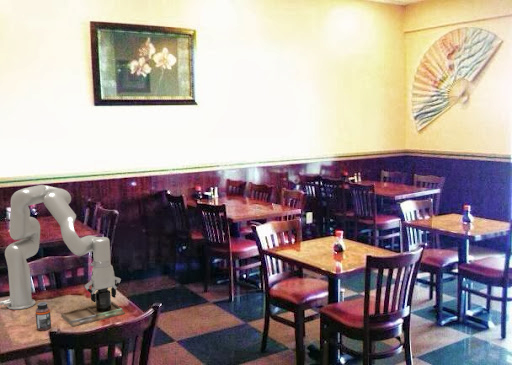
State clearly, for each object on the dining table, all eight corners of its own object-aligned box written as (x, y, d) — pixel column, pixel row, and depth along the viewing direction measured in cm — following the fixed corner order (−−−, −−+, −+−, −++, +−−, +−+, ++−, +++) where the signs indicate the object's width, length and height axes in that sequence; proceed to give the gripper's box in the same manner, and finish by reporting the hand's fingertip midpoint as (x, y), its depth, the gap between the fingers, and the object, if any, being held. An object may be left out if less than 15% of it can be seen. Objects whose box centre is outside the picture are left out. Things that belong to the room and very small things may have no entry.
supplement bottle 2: (114, 308, 256) (113, 283, 254) (105, 313, 250) (104, 288, 248) (101, 306, 258) (100, 282, 257) (93, 311, 252) (91, 287, 250)
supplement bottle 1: (39, 325, 238) (37, 301, 236) (52, 325, 238) (51, 300, 237) (34, 331, 232) (33, 306, 230) (48, 330, 232) (47, 305, 231)
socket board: (72, 327, 236) (72, 323, 236) (61, 316, 248) (61, 313, 248) (124, 313, 251) (124, 310, 251) (111, 304, 263) (111, 301, 263)
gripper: (86, 269, 243) (88, 305, 245) (122, 262, 253) (124, 297, 256) (80, 265, 249) (82, 301, 251) (116, 258, 259) (117, 293, 261)
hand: (103, 299), depth 253 cm, fingers open, 9 cm apart
